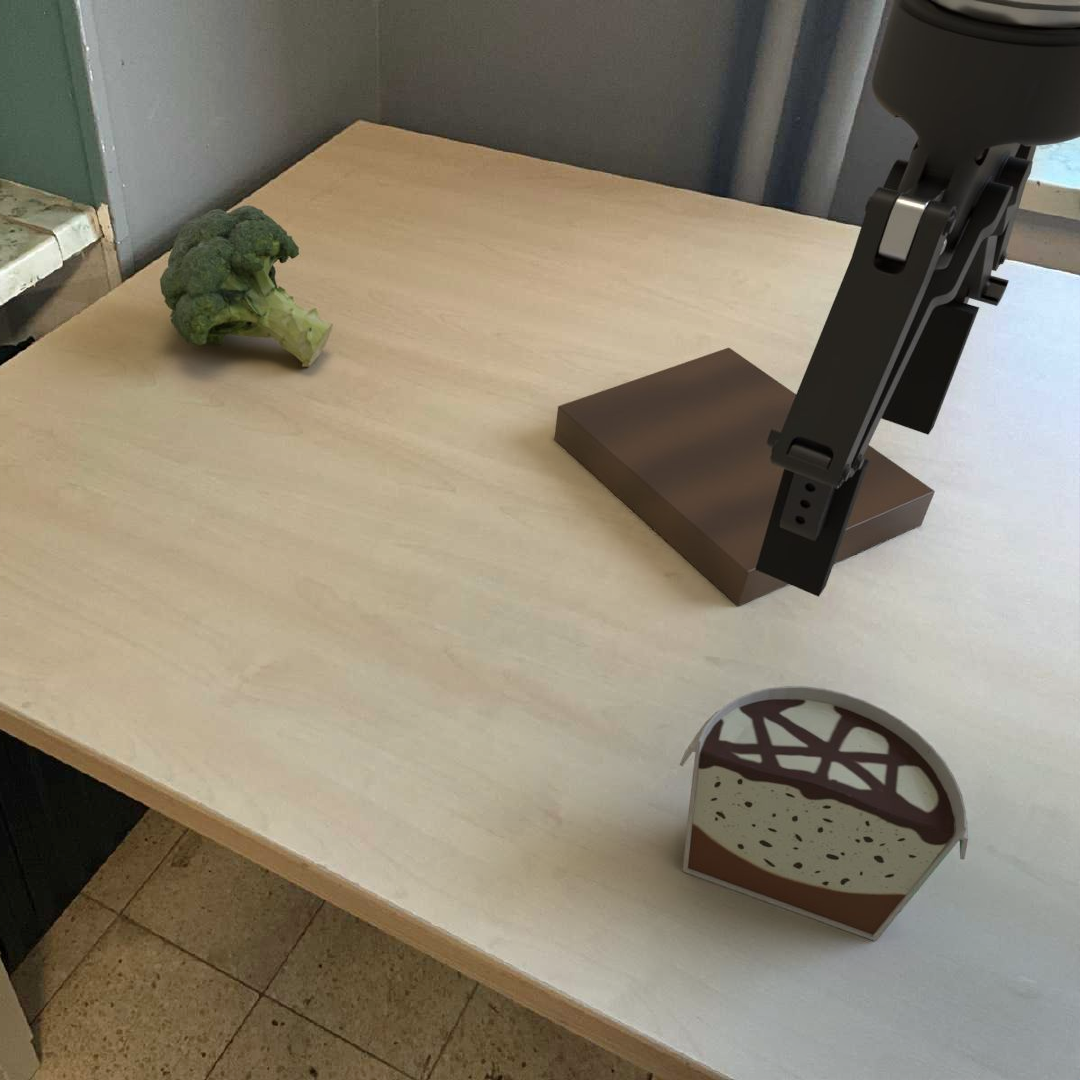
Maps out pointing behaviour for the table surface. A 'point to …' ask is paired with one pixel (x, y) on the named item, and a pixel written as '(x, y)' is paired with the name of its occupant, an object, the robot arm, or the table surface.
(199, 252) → the vegetable
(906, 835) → the food container
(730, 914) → the table surface
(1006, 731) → the table surface
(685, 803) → the table surface
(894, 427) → the table surface
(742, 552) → the board
